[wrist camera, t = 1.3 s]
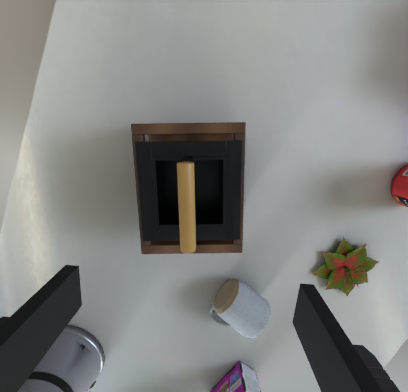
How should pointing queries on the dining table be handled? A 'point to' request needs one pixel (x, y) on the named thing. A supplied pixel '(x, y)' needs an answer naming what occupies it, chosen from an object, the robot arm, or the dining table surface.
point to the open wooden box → (190, 134)
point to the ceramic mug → (240, 308)
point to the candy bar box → (239, 380)
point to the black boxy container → (189, 190)
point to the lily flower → (346, 267)
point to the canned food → (400, 186)
